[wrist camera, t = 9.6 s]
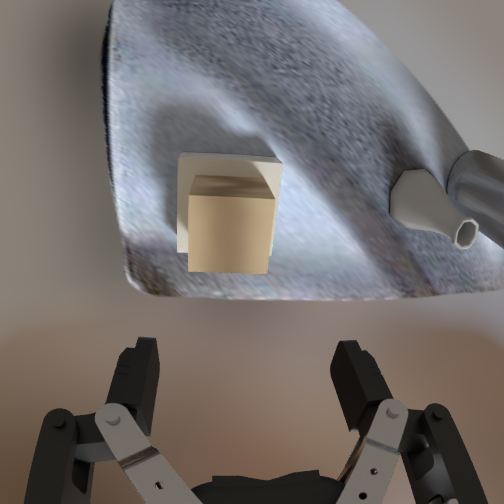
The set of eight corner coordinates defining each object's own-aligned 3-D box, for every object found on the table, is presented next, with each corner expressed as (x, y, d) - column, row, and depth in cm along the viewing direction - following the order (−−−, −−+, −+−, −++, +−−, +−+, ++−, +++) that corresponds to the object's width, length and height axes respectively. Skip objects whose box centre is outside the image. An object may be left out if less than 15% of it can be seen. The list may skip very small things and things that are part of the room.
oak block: (264, 178, 27) (275, 199, 22) (258, 240, 30) (266, 273, 25) (195, 174, 27) (188, 195, 21) (193, 238, 29) (188, 271, 24)
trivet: (277, 157, 30) (282, 163, 27) (267, 242, 34) (271, 255, 31) (182, 152, 28) (177, 157, 26) (180, 238, 33) (177, 252, 30)
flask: (398, 160, 31) (454, 187, 22) (445, 176, 32) (501, 206, 23) (380, 221, 34) (426, 265, 25) (426, 231, 35) (474, 272, 26)
